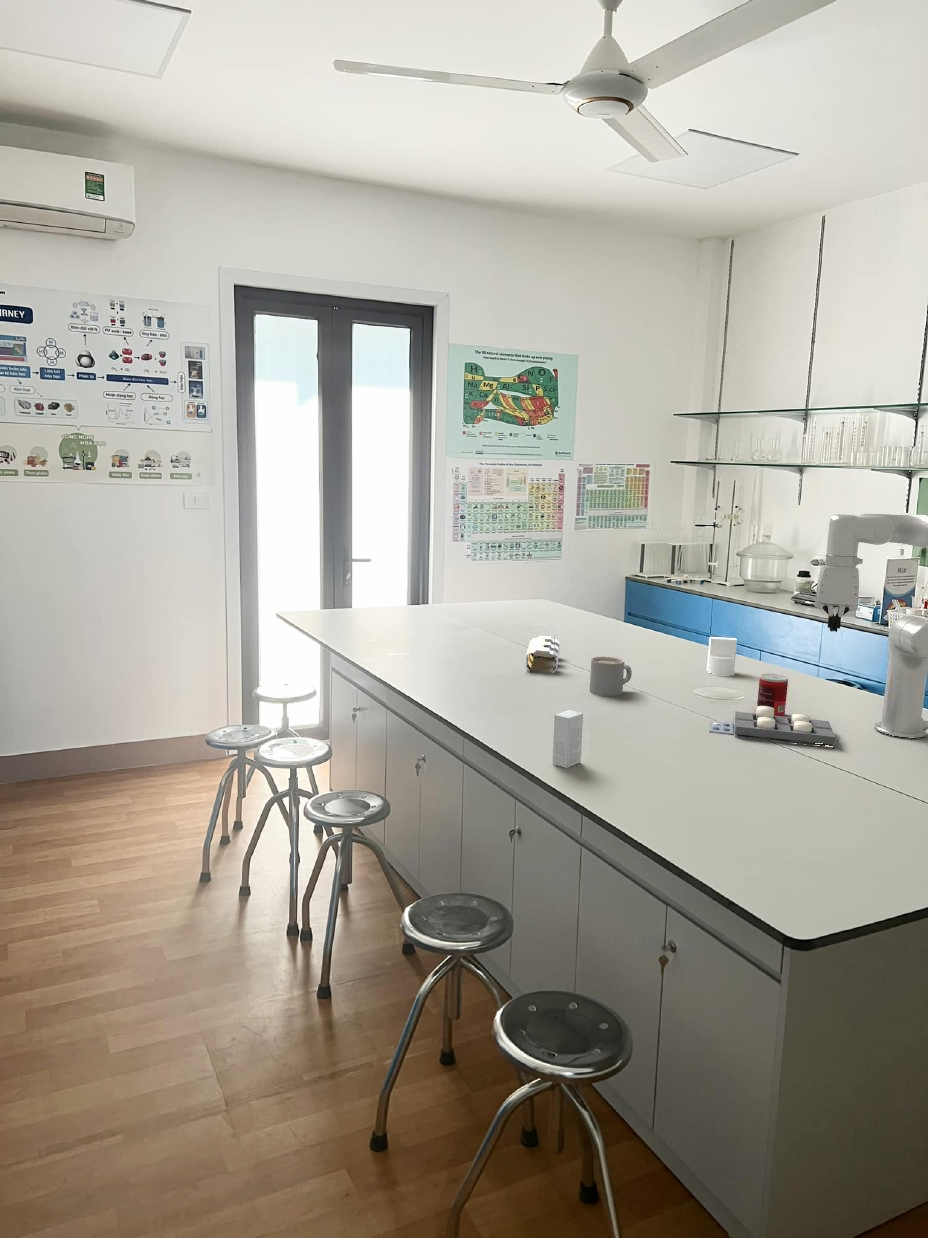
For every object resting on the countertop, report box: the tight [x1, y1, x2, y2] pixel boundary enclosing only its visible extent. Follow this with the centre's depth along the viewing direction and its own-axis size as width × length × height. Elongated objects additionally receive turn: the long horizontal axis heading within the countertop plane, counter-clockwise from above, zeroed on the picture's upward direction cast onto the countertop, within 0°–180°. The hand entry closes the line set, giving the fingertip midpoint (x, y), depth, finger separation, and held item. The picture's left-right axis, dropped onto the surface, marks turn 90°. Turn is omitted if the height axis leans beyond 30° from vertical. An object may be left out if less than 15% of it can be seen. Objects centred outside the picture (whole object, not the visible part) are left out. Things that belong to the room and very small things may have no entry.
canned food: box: [756, 673, 789, 716], centre depth 257 cm, size 8×8×11 cm
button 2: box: [757, 717, 775, 729], centre depth 236 cm, size 4×4×3 cm
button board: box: [708, 711, 836, 746], centre depth 239 cm, size 30×15×3 cm, turn 74°
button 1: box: [755, 706, 774, 719], centre depth 242 cm, size 4×4×3 cm
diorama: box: [525, 635, 561, 674], centre depth 309 cm, size 25×10×13 cm, turn 172°
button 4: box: [793, 721, 812, 733], centre depth 233 cm, size 4×4×3 cm
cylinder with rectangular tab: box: [706, 636, 738, 676], centre depth 306 cm, size 9×9×12 cm
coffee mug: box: [589, 656, 633, 697], centre depth 276 cm, size 13×10×10 cm
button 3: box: [791, 713, 811, 724], centre depth 240 cm, size 4×4×3 cm
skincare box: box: [552, 709, 584, 769], centre depth 209 cm, size 6×4×12 cm
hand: (833, 630), depth 240 cm, fingers closed
